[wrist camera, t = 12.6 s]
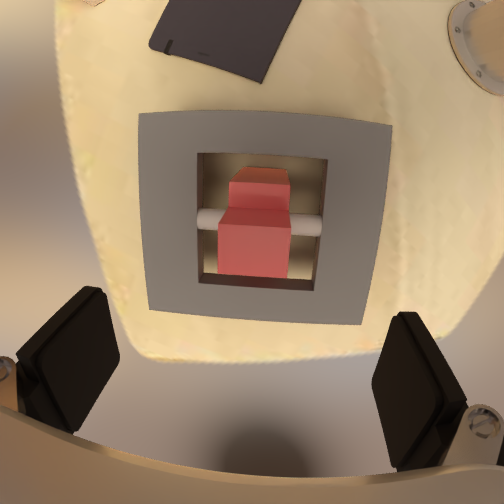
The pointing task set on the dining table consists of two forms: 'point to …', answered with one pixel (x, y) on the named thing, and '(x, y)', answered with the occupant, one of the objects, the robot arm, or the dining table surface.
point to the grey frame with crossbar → (322, 226)
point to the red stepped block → (256, 224)
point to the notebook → (225, 32)
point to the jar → (93, 2)
